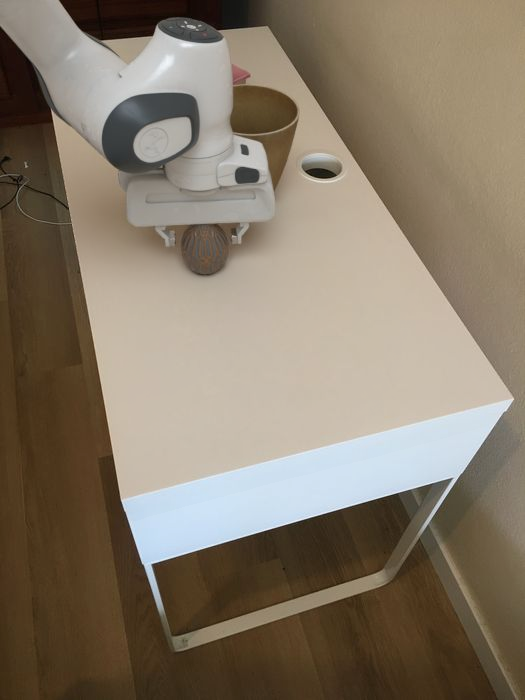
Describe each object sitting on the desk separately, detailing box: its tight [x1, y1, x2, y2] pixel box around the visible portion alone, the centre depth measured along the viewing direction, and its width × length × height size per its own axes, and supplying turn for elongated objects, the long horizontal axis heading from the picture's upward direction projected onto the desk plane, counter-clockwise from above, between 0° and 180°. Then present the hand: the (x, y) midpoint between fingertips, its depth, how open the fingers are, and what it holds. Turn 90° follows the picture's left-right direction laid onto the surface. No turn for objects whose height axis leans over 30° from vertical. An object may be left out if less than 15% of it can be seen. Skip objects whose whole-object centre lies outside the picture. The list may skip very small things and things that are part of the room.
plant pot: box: [230, 83, 301, 192], centre depth 91 cm, size 15×15×16 cm
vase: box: [180, 223, 230, 275], centre depth 83 cm, size 7×7×9 cm
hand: (203, 242), depth 83 cm, fingers open, 8 cm apart
